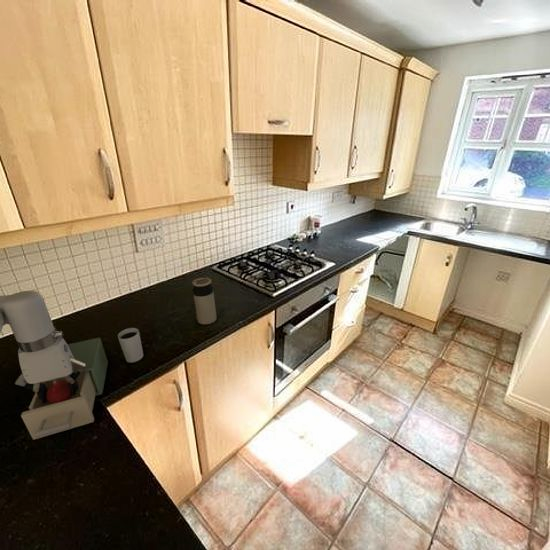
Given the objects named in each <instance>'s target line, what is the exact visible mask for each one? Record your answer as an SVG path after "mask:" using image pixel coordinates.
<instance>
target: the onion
mask: <svg viewBox="0 0 550 550" xmlns="http://www.w3.org/2000/svg"><path fill="white" fill-rule="evenodd" d="M46 397H47V400H48V402H49V403H51V404H55V403H59V402H63V401H66V400H70V398H71V397H72V395H71V392H70V390H69V387H68V382H66V381H58V380H57V379H56V380H54V381H53V384H52V385H51V386H50V387H49V389H48V390H47V393H46Z"/></svg>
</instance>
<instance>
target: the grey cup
mask: <svg viewBox="0 0 550 550" xmlns="http://www.w3.org/2000/svg"><path fill="white" fill-rule="evenodd" d="M117 339H118V341H119V345H120V348H121V350H122V353H123V357H124V359H125V361H126V362H127V363H136V362H139V361H140V360H142V359H143V357H144V351H143V350H144V349H143V346H142V340H141V335H140V329H138V328H136V327H128V328H126V329H123V330H121V331H120V332H119V333H118V334H117Z"/></svg>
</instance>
